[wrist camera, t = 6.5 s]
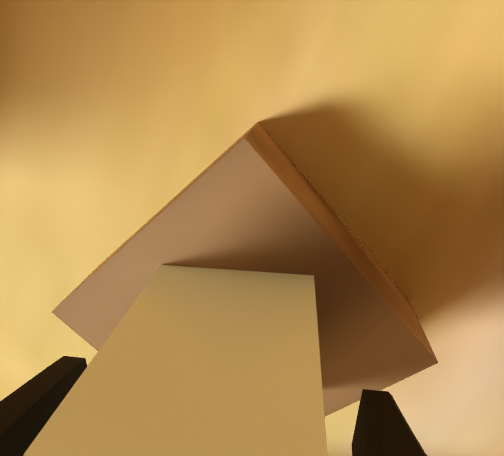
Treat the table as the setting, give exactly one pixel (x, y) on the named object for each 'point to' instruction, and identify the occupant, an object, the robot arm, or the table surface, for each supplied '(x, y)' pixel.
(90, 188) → the table surface
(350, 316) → the walnut box
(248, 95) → the table surface
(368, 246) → the table surface
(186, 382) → the cream cube with panel
